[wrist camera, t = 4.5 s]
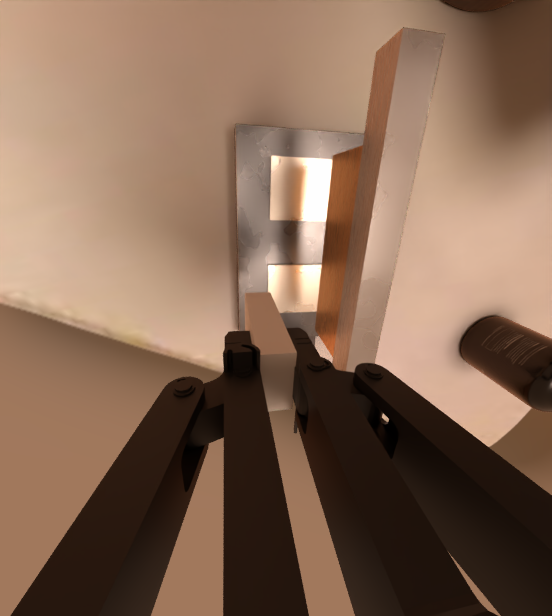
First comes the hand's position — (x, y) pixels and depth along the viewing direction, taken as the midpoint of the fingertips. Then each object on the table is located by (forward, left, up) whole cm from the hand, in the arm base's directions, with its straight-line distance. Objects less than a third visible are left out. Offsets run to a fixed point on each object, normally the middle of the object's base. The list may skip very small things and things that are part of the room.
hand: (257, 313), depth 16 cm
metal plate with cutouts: (-2, +5, -9) cm, 11 cm away
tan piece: (-3, +5, -3) cm, 7 cm away
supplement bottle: (+9, +29, -10) cm, 32 cm away
